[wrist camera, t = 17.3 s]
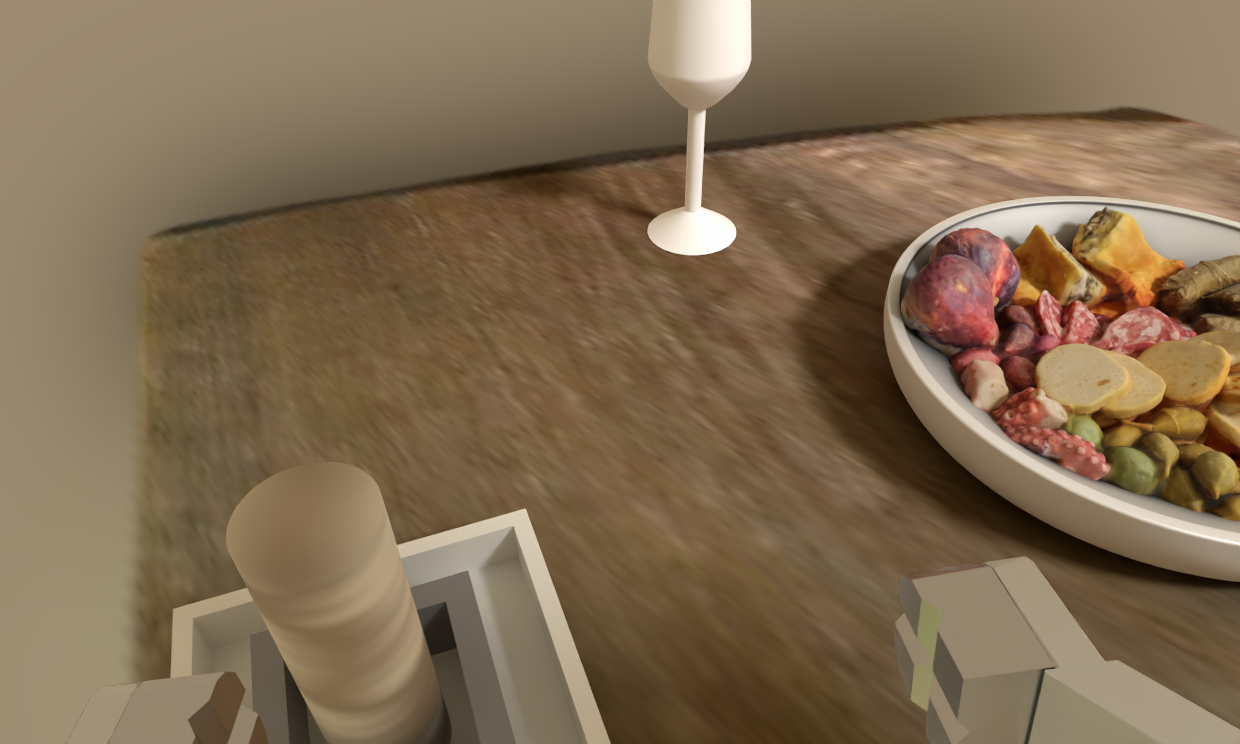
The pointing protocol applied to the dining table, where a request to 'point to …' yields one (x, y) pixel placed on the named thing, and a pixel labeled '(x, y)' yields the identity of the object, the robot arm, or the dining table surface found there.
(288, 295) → the dining table surface
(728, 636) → the dining table surface
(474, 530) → the tray
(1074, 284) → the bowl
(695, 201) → the champagne flute
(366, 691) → the peg
